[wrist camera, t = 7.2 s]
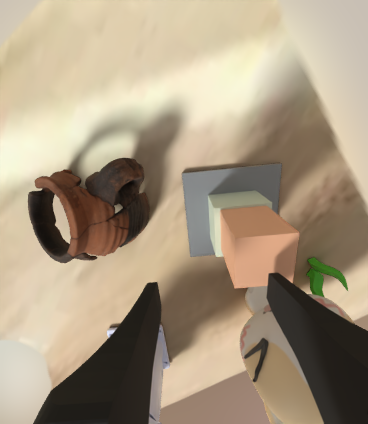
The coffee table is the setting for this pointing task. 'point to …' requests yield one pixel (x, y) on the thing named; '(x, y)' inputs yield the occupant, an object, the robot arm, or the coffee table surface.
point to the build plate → (219, 184)
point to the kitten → (282, 354)
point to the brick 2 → (257, 245)
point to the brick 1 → (230, 202)
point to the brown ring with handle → (90, 210)
